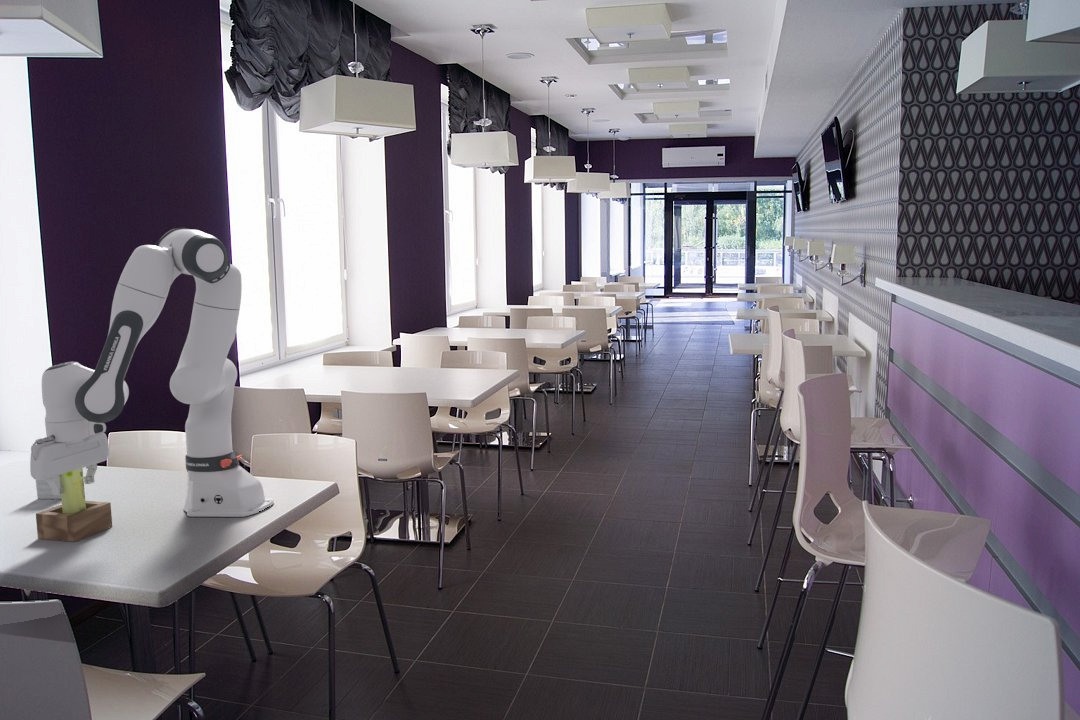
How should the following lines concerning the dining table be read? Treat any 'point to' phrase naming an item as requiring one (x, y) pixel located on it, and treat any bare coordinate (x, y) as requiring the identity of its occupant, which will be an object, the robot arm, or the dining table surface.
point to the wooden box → (74, 522)
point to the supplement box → (46, 490)
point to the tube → (72, 491)
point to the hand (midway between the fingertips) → (74, 488)
